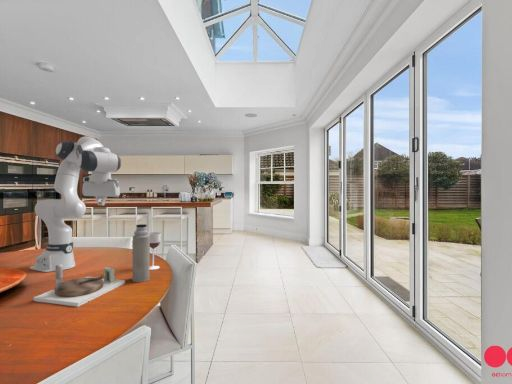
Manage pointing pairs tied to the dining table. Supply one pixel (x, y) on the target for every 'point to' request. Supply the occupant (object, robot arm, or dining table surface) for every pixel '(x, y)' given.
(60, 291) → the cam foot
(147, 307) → the dining table surface
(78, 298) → the stand
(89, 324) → the dining table surface
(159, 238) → the wineglass
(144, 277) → the thermos bottle
